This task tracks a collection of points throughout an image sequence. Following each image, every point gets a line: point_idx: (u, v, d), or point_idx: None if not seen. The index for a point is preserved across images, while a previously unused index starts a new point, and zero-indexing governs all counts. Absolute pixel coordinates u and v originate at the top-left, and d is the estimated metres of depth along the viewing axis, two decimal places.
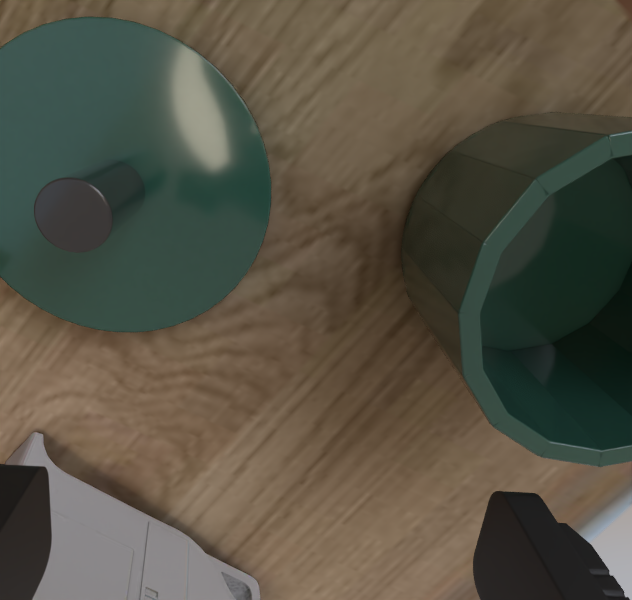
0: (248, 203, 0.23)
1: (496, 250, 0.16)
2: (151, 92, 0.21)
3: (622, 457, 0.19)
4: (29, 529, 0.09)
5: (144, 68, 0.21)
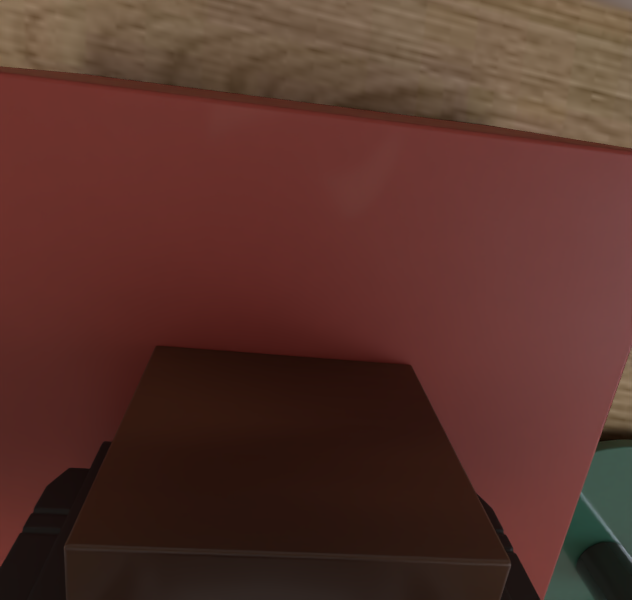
0: None
1: None
2: None
3: None
4: None
5: None
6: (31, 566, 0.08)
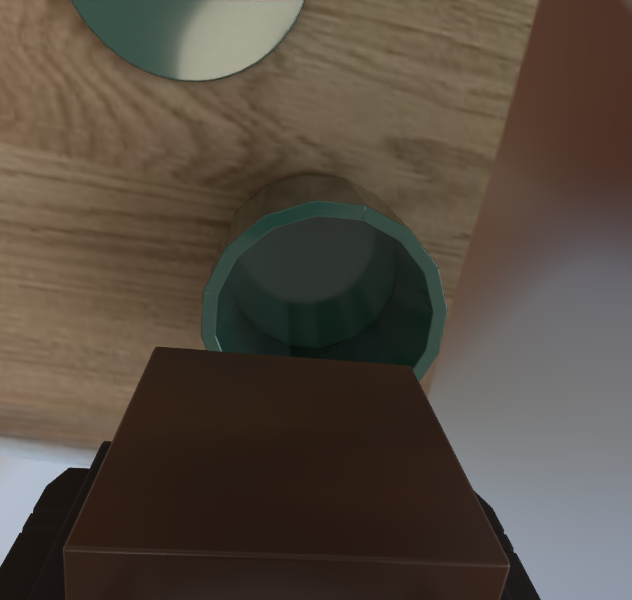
0: (233, 53, 0.28)
1: (314, 211, 0.24)
2: None
3: None
4: None
5: None
6: (31, 566, 0.08)
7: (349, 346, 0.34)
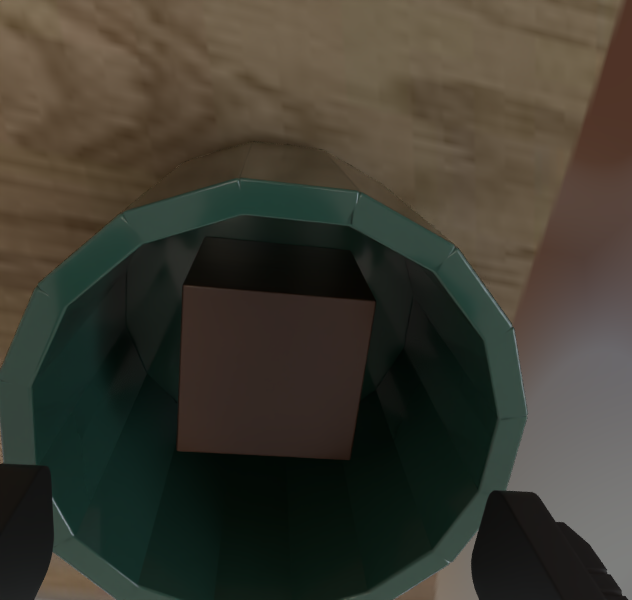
0: None
1: (239, 204, 0.10)
2: None
3: (84, 565, 0.13)
4: (32, 528, 0.09)
5: None
6: None
7: None
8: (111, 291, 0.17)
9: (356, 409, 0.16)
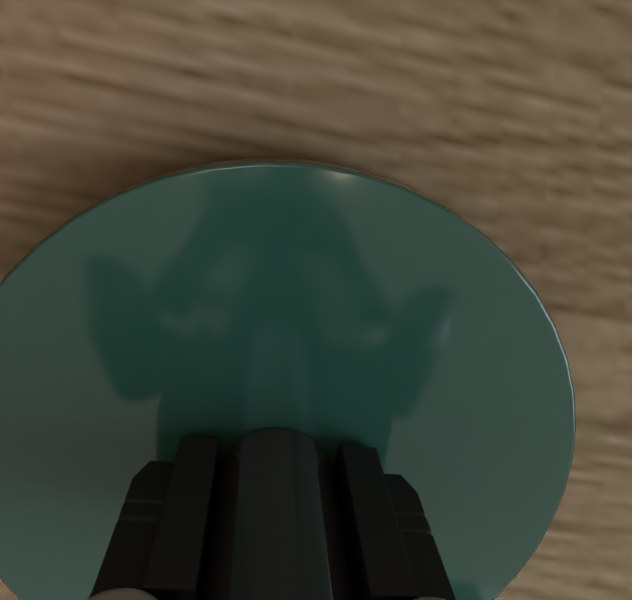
0: None
1: None
2: (474, 460, 0.11)
3: None
4: None
5: (507, 435, 0.11)
6: (134, 551, 0.08)
7: None
8: None
9: None
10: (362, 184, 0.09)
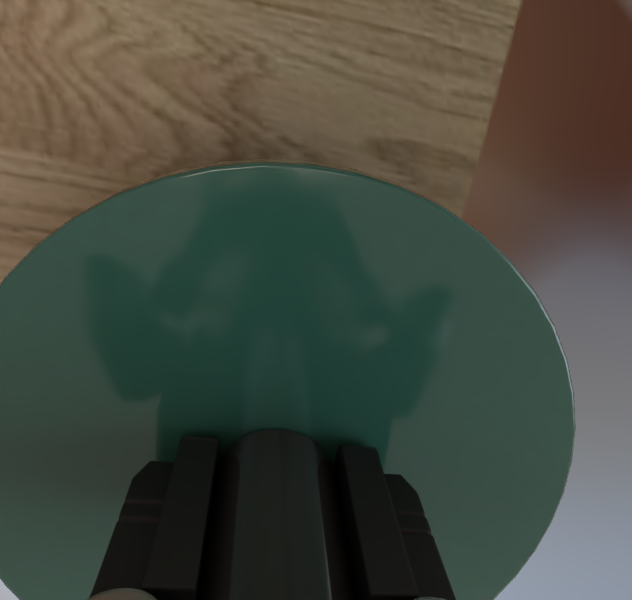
0: None
1: None
2: (474, 461, 0.11)
3: None
4: None
5: (507, 436, 0.11)
6: (134, 552, 0.08)
7: None
8: None
9: None
10: (362, 185, 0.09)
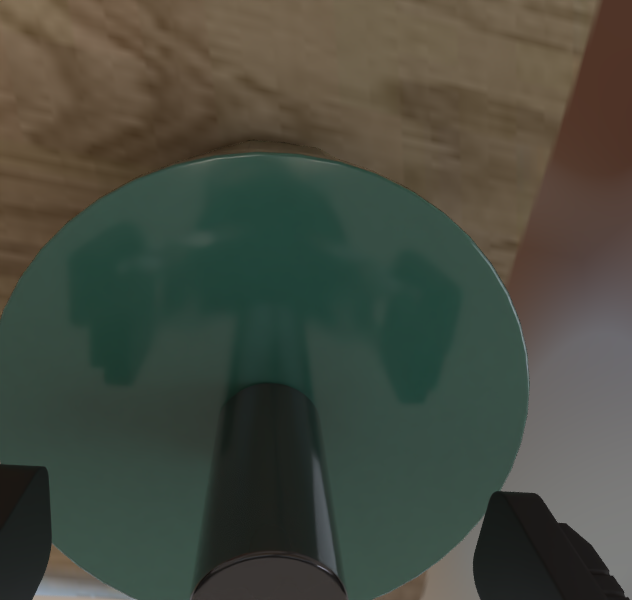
0: (350, 582, 0.15)
1: None
2: (442, 413, 0.13)
3: None
4: (30, 529, 0.09)
5: (471, 390, 0.13)
6: None
7: None
8: None
9: None
10: (342, 171, 0.11)
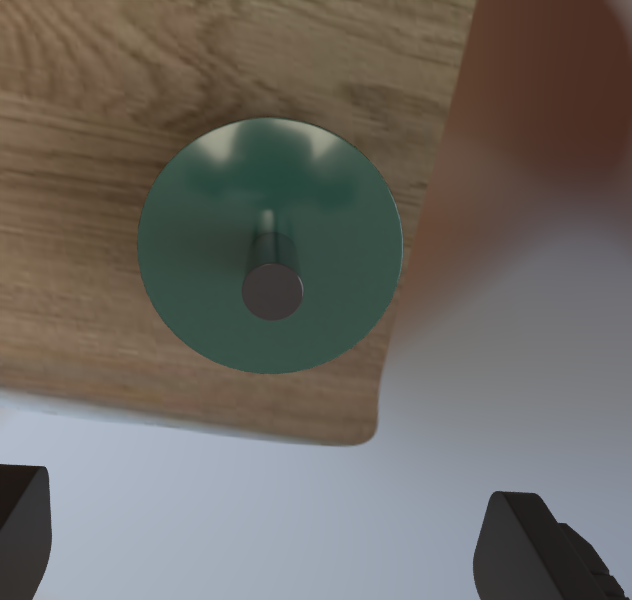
0: (315, 349, 0.28)
1: None
2: (359, 251, 0.26)
3: None
4: (30, 529, 0.09)
5: (373, 239, 0.26)
6: None
7: None
8: None
9: None
10: (306, 126, 0.24)
